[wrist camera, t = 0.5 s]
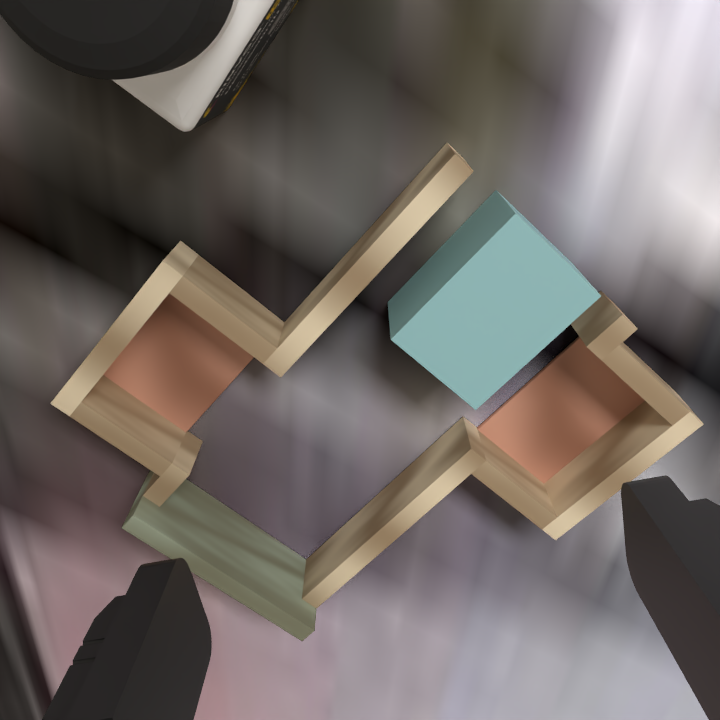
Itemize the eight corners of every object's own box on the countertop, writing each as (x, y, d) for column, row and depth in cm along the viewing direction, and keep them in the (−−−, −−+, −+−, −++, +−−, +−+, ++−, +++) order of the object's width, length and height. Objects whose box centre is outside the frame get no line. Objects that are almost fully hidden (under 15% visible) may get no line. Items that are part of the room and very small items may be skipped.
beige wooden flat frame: (339, 39, 27) (335, 40, 23) (693, 379, 34) (738, 427, 30) (49, 407, 35) (7, 456, 31) (385, 630, 41) (387, 695, 37)
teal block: (495, 189, 30) (515, 213, 26) (571, 262, 32) (601, 295, 27) (387, 301, 32) (390, 339, 28) (462, 364, 34) (475, 410, 30)
